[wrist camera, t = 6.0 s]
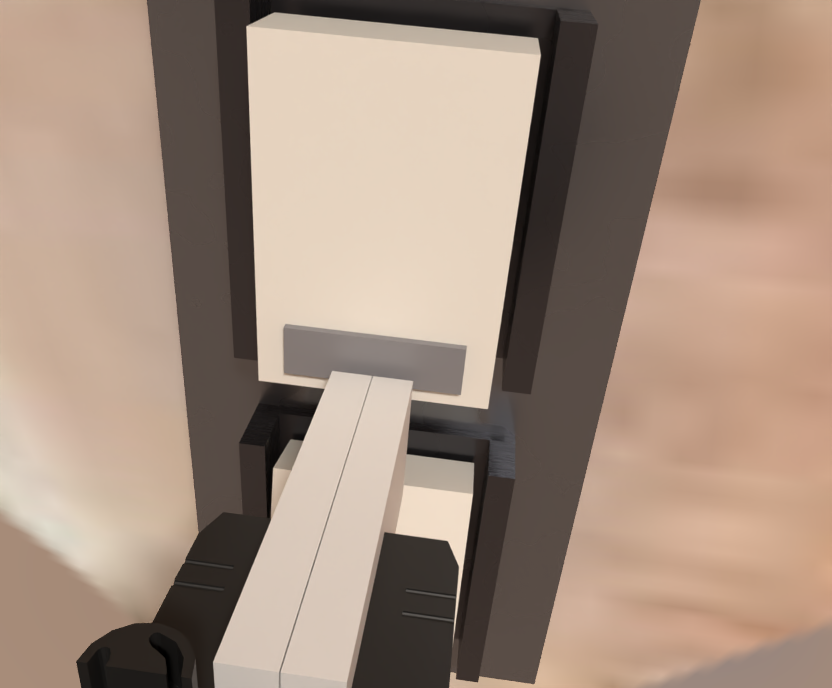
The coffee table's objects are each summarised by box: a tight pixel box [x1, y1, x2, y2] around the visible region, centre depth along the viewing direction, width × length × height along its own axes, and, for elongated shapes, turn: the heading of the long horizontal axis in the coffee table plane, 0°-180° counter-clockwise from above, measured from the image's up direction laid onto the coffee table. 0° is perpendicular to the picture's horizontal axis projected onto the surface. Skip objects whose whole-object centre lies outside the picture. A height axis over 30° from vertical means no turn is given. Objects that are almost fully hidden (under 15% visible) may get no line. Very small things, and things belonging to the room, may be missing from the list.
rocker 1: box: [246, 12, 541, 409], centre depth 14 cm, size 6×4×2 cm
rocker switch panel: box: [147, 0, 701, 684], centre depth 17 cm, size 30×10×6 cm, turn 176°
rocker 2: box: [271, 439, 474, 647], centre depth 19 cm, size 6×4×2 cm
